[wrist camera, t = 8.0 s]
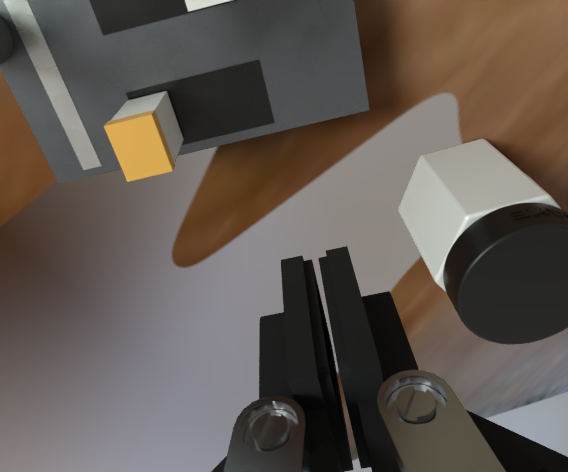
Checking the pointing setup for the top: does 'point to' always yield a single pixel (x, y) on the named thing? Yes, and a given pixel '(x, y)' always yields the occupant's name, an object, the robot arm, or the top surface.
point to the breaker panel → (178, 70)
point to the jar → (490, 242)
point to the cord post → (5, 42)
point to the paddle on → (145, 136)
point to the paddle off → (202, 3)
